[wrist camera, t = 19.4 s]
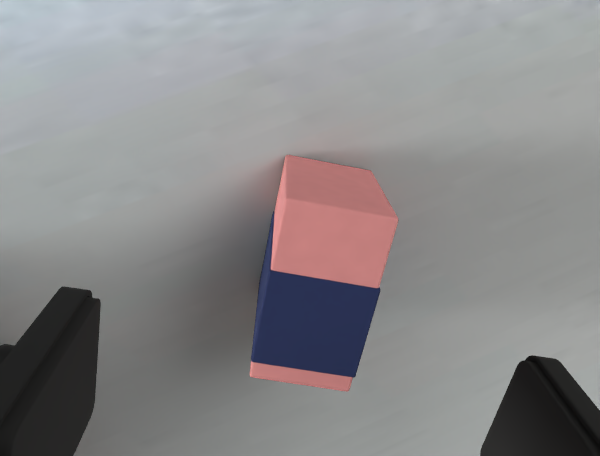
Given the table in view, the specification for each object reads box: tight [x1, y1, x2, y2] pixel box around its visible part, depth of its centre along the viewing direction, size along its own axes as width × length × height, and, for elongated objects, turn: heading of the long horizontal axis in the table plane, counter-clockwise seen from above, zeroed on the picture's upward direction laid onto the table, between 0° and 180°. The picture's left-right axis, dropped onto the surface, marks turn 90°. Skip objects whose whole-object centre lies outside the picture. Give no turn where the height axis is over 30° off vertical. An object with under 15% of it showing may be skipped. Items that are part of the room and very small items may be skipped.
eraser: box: [250, 155, 398, 391], centre depth 17 cm, size 6×3×5 cm, turn 169°
